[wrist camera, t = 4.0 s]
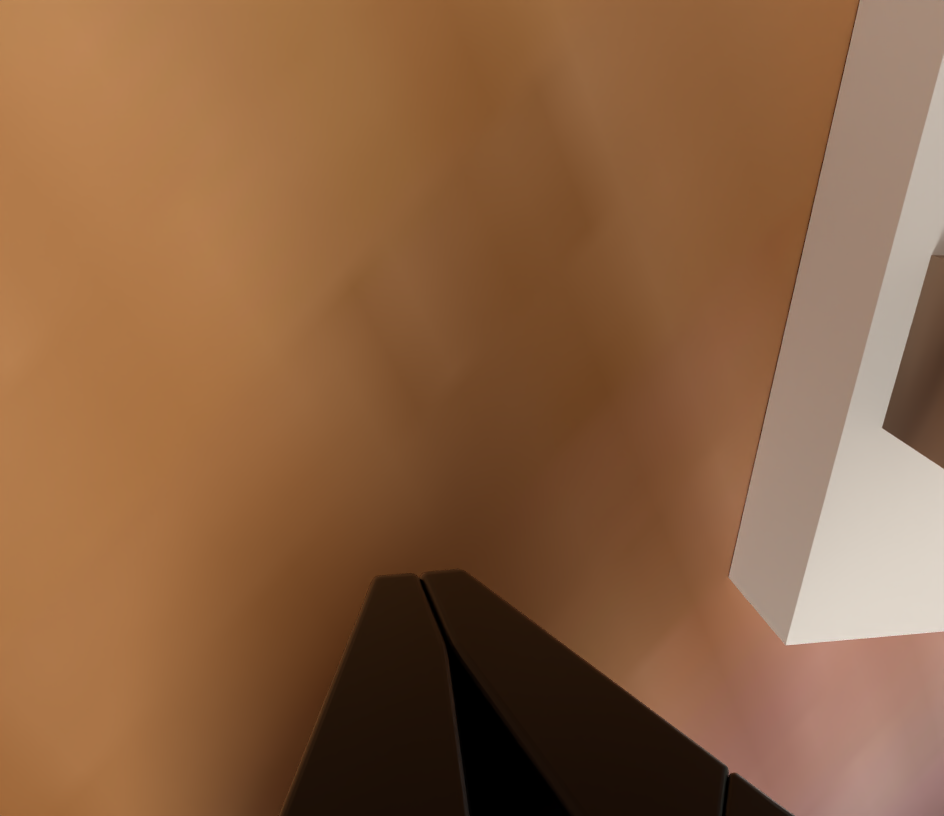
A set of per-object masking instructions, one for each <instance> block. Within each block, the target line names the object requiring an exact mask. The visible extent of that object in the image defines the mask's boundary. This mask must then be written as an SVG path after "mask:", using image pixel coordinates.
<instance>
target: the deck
mask: <svg viewBox="0 0 944 816" xmlns="http://www.w3.org/2000/svg"><path fill="white" fill-rule="evenodd" d="M931 255H944V0H860V3H859V7H858V11H857V16H856V20H855V25H854V29H853V33H852V38H851V42H850V46H849V51H848V55H847V60H846V64H845V68H844V73H843V77H842V82H841V86H840V90H839V95H838V99H837V104H836V108H835V112H834V117H833V121H832V125H831V130H830V134H829V139H828V143H827V147H826V152H825V156H824V161H823V165H822V169H821V174H820V178H819V183H818V187H817V191H816V196H815V200H814V204H813V209H812V213H811V218H810V222H809V226H808V231H807V235H806V240H805V244H804V248H803V253H802V257H801V262H800V266H799V270H798V275H797V279H796V283H795V288H794V292H793V297H792V301H791V305H790V310H789V314H788V319H787V323H786V327H785V332H784V336H783V341H782V345H781V349H780V354H779V358H778V362H777V367H776V371H775V376H774V380H773V384H772V389H771V393H770V398H769V402H768V406H767V411H766V415H765V420H764V424H763V428H762V433H761V437H760V441H759V446H758V450H757V455H756V459H755V463H754V468H753V472H752V477H751V481H750V485H749V490H748V494H747V499H746V503H745V507H744V512H743V516H742V521H741V525H740V529H739V534H738V538H737V542H736V547H735V551H734V556H733V560H732V564H731V569H730V573H729V579H730V580H731V581H732V582H733V583H734V585H735V586H736V587H737V588H738V589H739V591H740V592H741V593H742V594H743V595H744V596H745V598H746V599H747V600H748V601H749V602H750V604H751V605H752V606H753V607H754V608H755V610H756V611H757V612H758V613H759V614H760V615H761V617H762V618H763V619H764V620H765V621H766V623H767V624H768V625H769V626H770V627H771V629H772V630H773V631H774V632H775V633H776V635H777V636H778V637H779V638H780V639H781V640H782V642H783V643H784V644H785V645H795V644H806V643H817V642H828V641H840V640H851V639H862V638H874V637H885V636H896V635H907V634H919V633H930V632H941V631H944V469H943V468H942V467H940V466H939V465H937V464H936V463H934V462H933V461H931V460H929V459H928V458H926V457H925V456H923V455H922V454H920V453H919V452H917V451H916V450H914V449H913V448H911V447H910V446H908V445H907V444H905V443H904V442H902V441H901V440H899V439H898V438H896V437H895V436H893V435H892V434H890V433H889V432H887V431H886V430H884V429H883V428H882V426H883V422H884V419H885V415H886V412H887V408H888V405H889V401H890V398H891V394H892V391H893V387H894V384H895V380H896V377H897V373H898V370H899V366H900V363H901V359H902V356H903V352H904V349H905V345H906V342H907V338H908V335H909V331H910V328H911V324H912V321H913V317H914V314H915V310H916V307H917V303H918V300H919V296H920V293H921V289H922V286H923V282H924V279H925V275H926V272H927V268H928V265H929V261H930V258H931Z"/></svg>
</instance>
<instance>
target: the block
mask: <svg viewBox="0 0 944 816" xmlns="http://www.w3.org/2000/svg"><path fill="white" fill-rule="evenodd" d="M882 428H883V429H884V430H886V431H887V432H889V433H890V434H892V435H893V436H895V437H896V438H898V439H899V440H901V441H902V442H904V443H905V444H907V445H908V446H910V447H911V448H913V449H914V450H916V451H917V452H919V453H920V454H922V455H923V456H925V457H926V458H928V459H929V460H931V461H933V462H934V463H936V464H937V465H939V466H940V467H942V468H943V469H944V255H931V258H930V261H929V265H928V268H927V272H926V275H925V279H924V282H923V286H922V289H921V293H920V296H919V300H918V303H917V307H916V310H915V314H914V317H913V321H912V324H911V328H910V331H909V335H908V338H907V342H906V345H905V349H904V352H903V356H902V359H901V363H900V366H899V370H898V373H897V377H896V380H895V384H894V387H893V391H892V394H891V398H890V401H889V405H888V408H887V412H886V415H885V419H884V422H883V426H882Z"/></svg>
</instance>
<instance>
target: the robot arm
mask: <svg viewBox="0 0 944 816" xmlns="http://www.w3.org/2000/svg"><path fill="white" fill-rule="evenodd" d="M728 775H729V770H728V767H727V766H726V765H725V764H723V763H722V762H721V761H719V760H718V759H717V758H715V757H714V756H713V755H711V754H710V753H709V752H707V751H706V750H705V749H703V748H702V747H701V746H699V745H698V744H697V743H695V742H694V741H693V740H691V739H690V738H689V737H687V736H686V735H684V734H683V733H682V732H680V731H679V730H678V729H676V728H675V727H674V726H672V725H671V724H670V723H668V722H667V721H666V720H664V719H663V718H662V717H660V716H659V715H658V714H656V713H655V712H654V711H652V710H651V709H650V708H648V707H647V706H646V705H644V704H643V703H642V702H640V701H639V700H638V699H636V698H635V697H634V696H632V695H631V694H629V693H628V692H627V691H625V690H624V689H623V688H621V687H620V686H619V685H617V684H616V683H615V682H613V681H612V680H611V679H609V678H608V677H607V676H605V675H604V674H603V673H601V672H600V671H599V670H597V669H596V668H595V667H593V666H592V665H591V664H589V663H588V662H587V661H585V660H584V659H583V658H581V657H580V656H579V655H577V654H576V653H574V652H573V651H572V650H570V649H569V648H568V647H566V646H565V645H564V644H562V643H561V642H560V641H558V640H557V639H556V638H554V637H553V636H552V635H550V634H549V633H548V632H546V631H545V630H544V629H542V628H541V627H540V626H538V625H537V624H536V623H534V622H533V621H532V620H530V619H529V618H528V617H526V616H525V615H524V614H522V613H521V612H519V611H518V610H517V609H515V608H514V607H513V606H511V605H510V604H509V603H507V602H506V601H505V600H503V599H502V598H501V597H499V596H498V595H497V594H495V593H494V592H493V591H491V590H490V589H489V588H487V587H486V586H485V585H483V584H482V583H481V582H479V581H478V580H477V579H475V578H474V577H473V576H471V575H470V574H469V573H467V572H465V571H463V570H461V569H453V570H442V571H431V572H424V573H423V574H421V576H420V578H418V576H417V575H415V574H412V573H407V574H395V575H382V576H376V577H375V578H374V579H373V580H372V582H371V584H370V586H369V589H368V591H367V594H366V596H365V599H364V602H363V604H362V607H361V609H360V612H359V614H358V617H357V619H356V622H355V624H354V627H353V629H352V632H351V634H350V637H349V639H348V642H347V644H346V647H345V649H344V652H343V654H342V657H341V659H340V662H339V664H338V667H337V670H336V672H335V675H334V677H333V680H332V682H331V685H330V687H329V690H328V692H327V695H326V697H325V700H324V702H323V705H322V707H321V710H320V712H319V715H318V717H317V720H316V722H315V725H314V727H313V730H312V733H311V735H310V738H309V740H308V743H307V745H306V748H305V750H304V753H303V755H302V758H301V760H300V763H299V765H298V768H297V770H296V773H295V775H294V778H293V780H292V783H291V785H290V788H289V790H288V793H287V796H286V798H285V801H284V803H283V806H282V808H281V811H280V813H279V816H795V815H793V814H792V813H790V812H789V811H788V810H786V809H785V808H783V807H782V806H781V805H779V804H778V803H776V802H775V801H774V800H772V799H771V798H770V797H768V796H767V795H766V794H764V793H763V792H762V791H760V790H759V789H757V788H756V787H755V786H753V785H752V784H751V783H749V782H748V781H747V780H745V779H744V778H743V777H741V776H740V775H739V774H737V773H731V774H730V775H729V777H728Z"/></svg>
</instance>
